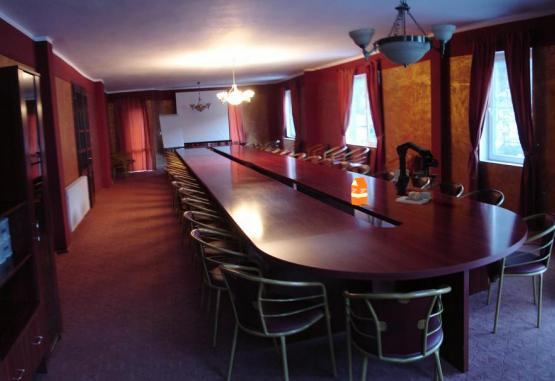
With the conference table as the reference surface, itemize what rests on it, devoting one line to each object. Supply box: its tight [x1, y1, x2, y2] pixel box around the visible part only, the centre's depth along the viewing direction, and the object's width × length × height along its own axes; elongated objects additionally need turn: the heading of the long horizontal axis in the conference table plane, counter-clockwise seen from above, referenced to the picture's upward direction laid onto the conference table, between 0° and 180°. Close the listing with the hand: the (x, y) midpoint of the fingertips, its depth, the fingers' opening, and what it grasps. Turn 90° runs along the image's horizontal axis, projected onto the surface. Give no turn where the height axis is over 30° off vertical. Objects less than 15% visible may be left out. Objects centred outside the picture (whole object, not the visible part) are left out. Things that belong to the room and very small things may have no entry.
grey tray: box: [395, 195, 429, 205], centre depth 357 cm, size 20×12×3 cm, turn 47°
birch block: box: [408, 191, 421, 199], centre depth 355 cm, size 6×6×5 cm
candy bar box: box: [393, 169, 410, 190], centre depth 408 cm, size 11×5×16 cm, turn 62°
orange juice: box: [350, 176, 368, 206], centre depth 354 cm, size 8×9×20 cm
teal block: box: [420, 191, 432, 201], centre depth 364 cm, size 6×6×5 cm
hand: (425, 187), depth 362 cm, fingers open, 9 cm apart
